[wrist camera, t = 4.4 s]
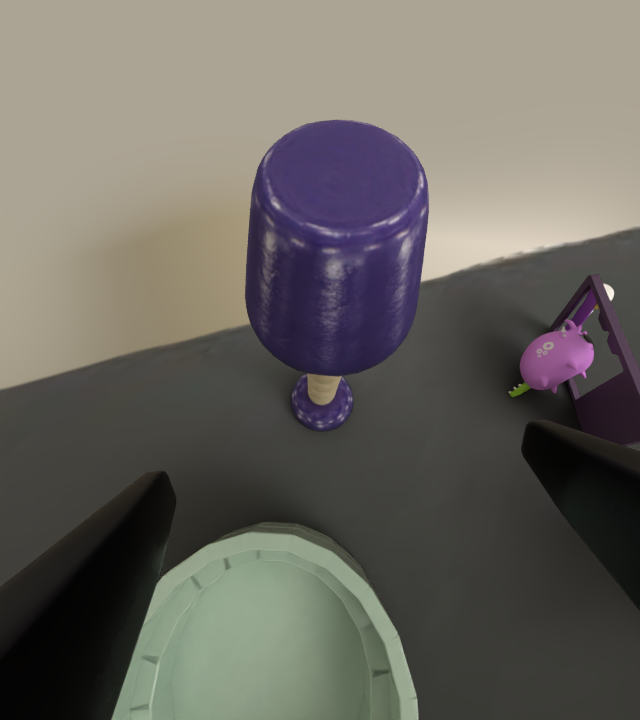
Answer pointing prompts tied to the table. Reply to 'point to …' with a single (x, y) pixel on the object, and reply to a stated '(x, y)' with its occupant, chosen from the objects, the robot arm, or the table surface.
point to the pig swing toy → (575, 354)
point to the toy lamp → (335, 257)
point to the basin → (268, 636)
